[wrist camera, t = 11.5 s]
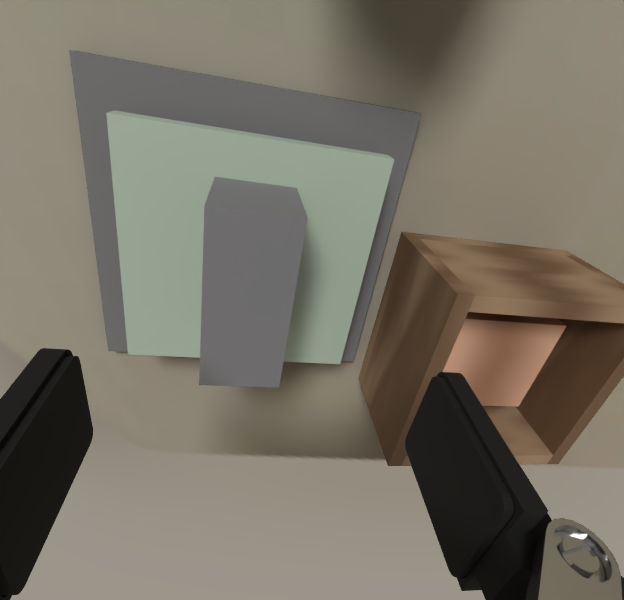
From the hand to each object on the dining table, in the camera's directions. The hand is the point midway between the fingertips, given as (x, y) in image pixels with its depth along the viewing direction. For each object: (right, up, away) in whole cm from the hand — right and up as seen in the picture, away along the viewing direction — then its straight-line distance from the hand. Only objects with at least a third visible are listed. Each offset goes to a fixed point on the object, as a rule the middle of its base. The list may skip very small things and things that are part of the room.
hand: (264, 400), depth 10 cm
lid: (-2, +6, +10) cm, 11 cm away
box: (+11, +2, +15) cm, 19 cm away
